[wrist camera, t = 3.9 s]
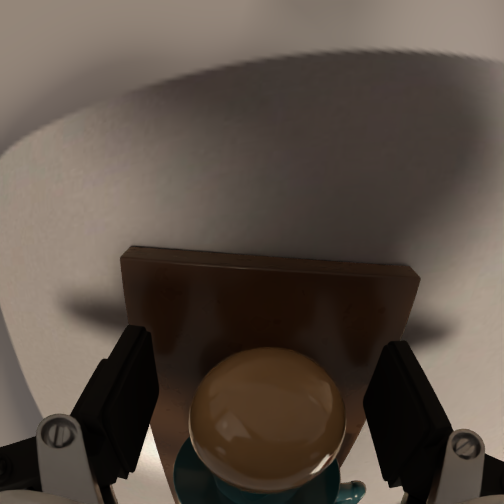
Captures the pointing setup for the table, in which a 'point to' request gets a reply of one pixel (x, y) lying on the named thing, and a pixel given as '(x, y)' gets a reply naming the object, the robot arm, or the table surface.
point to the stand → (260, 323)
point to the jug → (265, 434)
